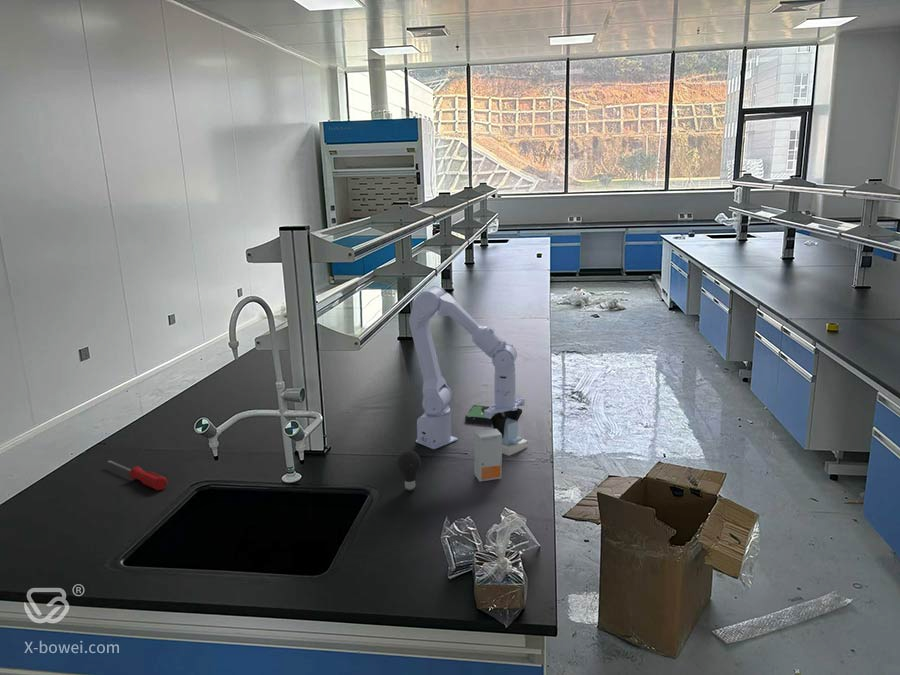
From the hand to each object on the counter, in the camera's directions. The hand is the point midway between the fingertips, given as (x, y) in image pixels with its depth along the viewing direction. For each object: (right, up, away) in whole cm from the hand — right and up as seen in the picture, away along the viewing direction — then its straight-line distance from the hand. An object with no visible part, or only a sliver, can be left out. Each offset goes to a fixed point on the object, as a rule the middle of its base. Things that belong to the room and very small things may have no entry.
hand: (504, 435), depth 177 cm
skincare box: (-6, -8, -17) cm, 20 cm away
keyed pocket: (0, -3, +1) cm, 3 cm away
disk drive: (-2, +1, +22) cm, 22 cm away
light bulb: (-25, -10, -23) cm, 35 cm away
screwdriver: (-96, -9, -13) cm, 97 cm away
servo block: (0, -2, +1) cm, 3 cm away
